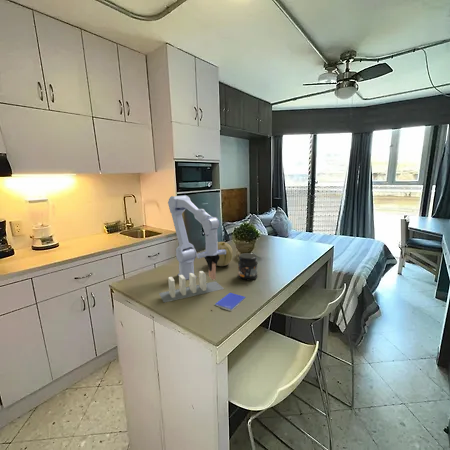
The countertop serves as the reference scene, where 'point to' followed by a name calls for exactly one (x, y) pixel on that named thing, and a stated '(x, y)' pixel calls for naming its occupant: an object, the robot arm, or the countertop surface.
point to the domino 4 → (202, 280)
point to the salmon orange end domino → (213, 271)
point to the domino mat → (209, 288)
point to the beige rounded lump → (226, 257)
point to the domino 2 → (182, 284)
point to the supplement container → (247, 266)
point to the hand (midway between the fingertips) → (212, 270)
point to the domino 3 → (192, 282)
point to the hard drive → (230, 301)
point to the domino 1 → (171, 287)
